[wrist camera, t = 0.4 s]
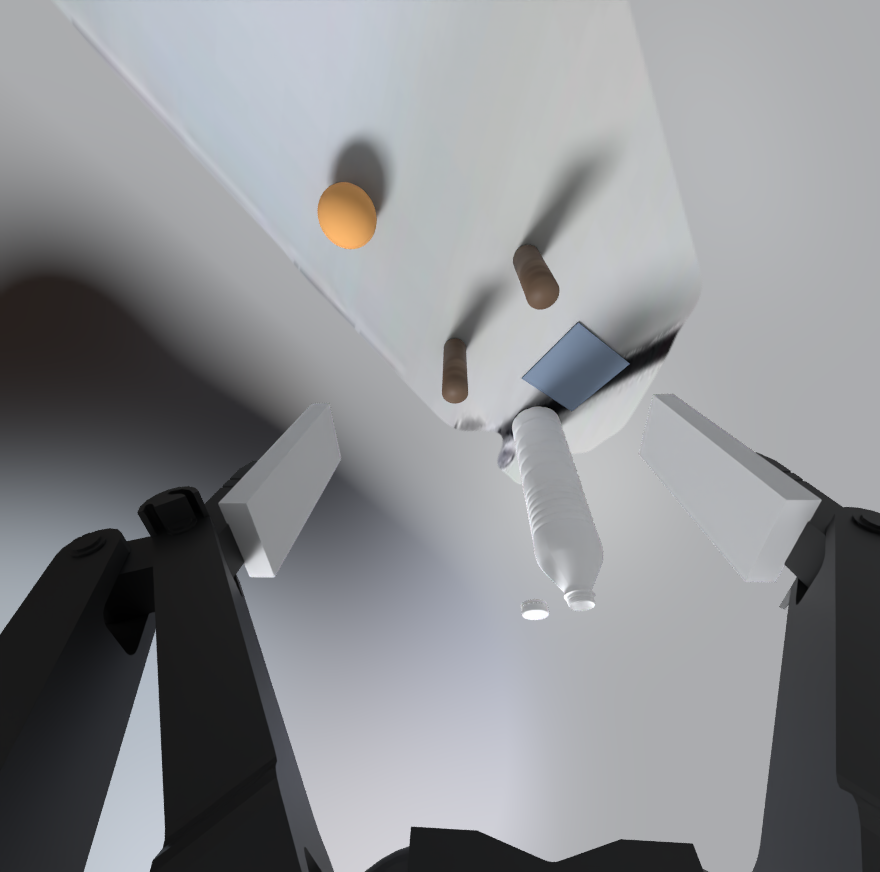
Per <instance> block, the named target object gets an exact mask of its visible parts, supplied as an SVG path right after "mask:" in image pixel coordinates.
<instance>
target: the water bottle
mask: <svg viewBox="0 0 880 872" xmlns="http://www.w3.org/2000/svg"><path fill="white" fill-rule="evenodd" d="M512 431H513V436H514V440H515V447H516V451H517V458H518V463H519V469H520V472H521V480H522V484H523V492H524V496H525V500H526V506H527V512H528V517H529V523H530V528H531V532H532V538H533V545H534V552H535V557H536V560H537V563H538V565H539V566H540V568H541V569H542V570H543V572H544V573H545V574H546V575H547V576H548V577H549V578H550V579H551V580H552V581H553V582H554V583H555V584H556V585H557V586H558V587H559V588H560V589H561V590H562V591H563V592H564V593H565V595H564V599H565V600H566V601H567V603H568V606H569V608H570V609H572V610H575V611H585V610H589V609H591V608H593V607H594V606H595V601H594V597H595V593H594V592H593V591H592V588H593V586H594V583H595V581H596V578H597V576H598V573H599V570H600V568H601V565H602V562H603V548H602V544H601V541H600V538H599V536H598V533H597V531H596V528H595V524H594V522H593V519H592V516H591V512H590V510H589V507H588V504H587V501H586V498H585V495H584V492H583V489H582V485H581V482H580V479H579V476H578V474H577V470H576V467H575V464H574V462H573V459H572V455H571V453H570V450H569V446H568V443H567V441H566V438H565V434H564V432H563V429H562V425H561V422H560V419H559V417H558V415H557V414H556V413H555V412H554V411H553V410H552V409H550V408H547V407H541V406H537V407H531V408H529V409H525V410H523V411H522V412H520V413H519V414H518V415H517V417H516V418H515V419H514V421H513V424H512ZM533 602H536V603H533ZM537 602H539V603H537ZM527 603H530V604H527ZM542 603H544V604H542ZM525 604H526V605H525ZM523 605H524V606H523ZM521 610H522V616H523V617H524V618H526V619H529V620H540V619H544V618H546V617H548V615H549V611H548V605H547V602H545V601H543V600H538V599H533V600H528V601H525V602H523V603H522V604H521Z"/></svg>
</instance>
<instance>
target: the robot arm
mask: <svg viewBox="0 0 880 872" xmlns="http://www.w3.org/2000/svg"><path fill="white" fill-rule="evenodd" d="M639 455H640V457H641V458H642V459H643V460H644V461H645V462H646V464H647V465H648V466H649V467H650V469H651V470H652V471H653V472H654V473H655V475H656V476H657V477H658V478H659V479H660V480H661V482H662V483H663V484H664V485H665V487H666V488H667V489H668V490H669V491H670V493H671V494H672V495H673V496H674V497H675V499H676V500H677V501H678V502H679V503H680V504H681V506H682V507H683V508H684V509H685V510H686V512H687V513H688V514H689V515H690V516H691V518H692V519H693V520H694V521H695V522H696V524H697V525H698V526H699V527H700V528H701V530H702V531H703V532H704V533H705V534H706V536H707V537H708V538H709V539H710V540H711V541H712V543H713V544H714V545H715V546H716V548H717V549H718V550H719V551H720V552H721V553H722V555H723V556H724V557H725V558H726V559H727V561H728V562H729V563H730V564H731V565H732V567H733V568H734V569H735V570H736V571H737V572H738V574H739V575H740V576H741V577H742V579H743V580H744V581H745V582H776V580H777V579H778V577H779V575H780V573H781V572H782V570H783V568H784V566H785V565H786V566H787V567H788V568H789V569H790V570H791V571H792V572H793V573H794V574H795V575H796V576H797V578H796V580H795V581H794V583H793V585H792V586H791V588H790V590H789V591H788V593H787V595H786V596H785V598H784V600H783V601H782V603H781V605H780V606H779V607H780V608H783V609H785V608H786V607H787V606H788V605H789V607H788V615H787V624H786V632H785V641H784V650H783V658H782V666H781V675H780V683H779V691H778V701H777V708H776V717H775V725H774V735H773V743H772V750H771V759H770V768H769V776H768V784H767V793H766V801H765V809H764V818H763V827H762V835H761V843H760V849H759V854H758V858H757V861H756V864H755V867H754V869H753V871H752V872H880V513H878V512H875V511H871V510H866V509H862V508H854V507H844V508H843V507H842V506H840V505H839V504H838V503H836V502H835V501H833V500H832V499H830V498H829V497H827V496H826V495H825V494H823V493H822V492H820V491H819V490H817V489H816V488H814V487H813V486H812V485H810V484H809V483H807V482H805V481H802V480H803V479H801V478H800V477H799V476H797V475H796V474H794V473H791V472H790V470H788V469H787V468H786V467H784V466H783V465H781V464H780V463H778V462H777V461H775V460H773V459H771V458H768V457H766V456H763V455H762V454H759V453H757V452H754V451H753V450H751V449H750V448H748V447H747V446H745V445H744V444H743V443H741V442H740V441H739V440H737V439H736V438H734V437H733V436H732V435H730V434H728V433H727V432H726V431H724V430H723V429H722V428H720V427H719V426H717V425H716V424H715V423H713V422H712V421H710V420H709V419H708V418H706V417H705V416H703V415H702V414H701V413H699V412H698V411H696V410H695V409H694V408H692V407H691V406H689V405H688V404H687V403H685V402H684V401H682V400H681V399H679V398H678V397H677V396H675V395H674V394H656V395H655V394H654V395H653V397H652V401H651V405H650V409H649V413H648V418H647V422H646V426H645V430H644V434H643V438H642V442H641V446H640V450H639ZM340 460H341V455H340V450H339V445H338V441H337V436H336V431H335V427H334V421H333V417H332V412H331V407H330V403H317V404H316V403H313V404H311V405H310V406H309V407H308V408H307V410H306V411H305V412H304V413H303V414H302V415H301V416H300V417H299V418H298V419H297V420H296V421H295V422H294V423H293V424H292V425H291V427H289V429H288V430H287V431H286V432H285V433H284V434H283V435H282V436H281V437H280V438H279V439H278V440H277V441H276V442H275V443H274V445H273V446H272V447H271V448H270V449H269V450H268V451H267V452H266V453H265V454H264V455H263V456H262V457H261V458H260V459H259V460H258V461H252V462H250V463H249V464H247V465H245V466H244V467H242V468H240V469H239V470H238V471H237V472H236V473H235V474H234V475H233V476H232V477H231V478H230V480H228V481H227V482H226V483H225V484H224V485H223V488H220V489H219V490H218V491H217V492H216V493H215V494H214V495H213V496H212V497H211V498H210V499H209V500H208V501H207V502H206V503H205V504H204V502H203V500H202V498H201V496H200V493H199V491H198V490H197V489H196V488H194V487H189V486H188V487H177V488H173V489H170V490H166V491H164V492H162V493H159V494H157V495H155V496H153V497H152V498H150V499H148V500H147V501H146V502H145V503H144V504H142V505H141V506H140V508H139V510H138V515H139V517H140V518H141V520H142V522H143V523H144V525H145V527H146V529H147V531H148V532H149V534H150V537H145V538H140V539H136V540H131V541H126V540H125V538H124V536H123V535H122V533H121V532H120V531H119V530H118V529H111V528H109V529H104V530H98V531H95V532H92V533H88V534H85V535H83V536H82V537H78V538H77V539H75V540H73V541H72V542H71V543H70V544H68V545H67V546H65V547H64V548H62V549H61V550H60V552H59V553H58V554H57V555H56V556H55V557H54V559H53V560H52V561H51V563H50V564H49V566H48V567H47V569H46V570H45V571H44V573H43V574H42V576H41V577H40V578H39V580H38V581H37V583H36V584H35V586H34V587H33V588H32V590H31V591H30V593H29V594H28V596H27V597H26V598H25V600H24V601H23V603H22V604H21V606H20V607H19V608H18V610H17V611H16V613H15V614H14V615H13V617H12V618H11V620H10V621H9V623H8V624H7V625H6V627H5V628H4V630H3V631H2V633H1V634H0V872H84V869H85V865H86V862H87V859H88V855H89V852H90V849H91V845H92V842H93V838H94V835H95V831H96V828H97V825H98V822H99V818H100V815H101V811H102V808H103V805H104V801H105V798H106V795H107V791H108V787H109V784H110V781H111V778H112V774H113V771H114V767H115V764H116V761H117V757H118V754H119V751H120V747H121V744H122V741H123V737H124V734H125V731H126V727H127V724H128V720H129V717H130V714H131V710H132V707H133V704H134V700H135V697H136V693H137V690H138V686H139V683H140V680H141V677H142V673H143V670H144V667H145V663H146V659H147V656H148V653H149V650H150V646H151V643H152V640H153V636H154V633H155V629H156V641H157V663H158V685H159V705H160V727H161V750H162V771H163V793H164V815H165V841H164V845H163V849H162V850H161V851H160V853H159V854H158V855H157V856H156V857H155V859H154V860H153V861H152V865H151V869H150V872H334V871H333V868H332V865H331V862H330V860H329V857H328V854H327V851H326V849H325V846H324V844H323V842H322V839H321V836H320V834H319V831H318V828H317V825H316V822H315V820H314V817H313V813H312V810H311V807H310V804H309V801H308V797H307V794H306V791H305V788H304V785H303V781H302V778H301V775H300V772H299V769H298V766H297V763H296V760H295V756H294V753H293V750H292V746H291V743H290V741H289V737H288V734H287V731H286V728H285V724H284V721H283V718H282V715H281V712H280V708H279V705H278V702H277V699H276V696H275V692H274V689H273V686H272V683H271V680H270V677H269V673H268V670H267V667H266V664H265V661H264V658H263V654H262V651H261V648H260V645H259V642H258V639H257V635H256V632H255V629H254V626H253V623H252V620H251V617H250V613H249V610H248V607H247V604H246V600H245V597H244V594H243V591H242V588H241V585H240V582H239V580H238V577H237V575H236V573H237V572H238V570H239V569H240V567H241V566H242V565H243V563H244V565H245V567H246V569H247V572H248V574H249V576H250V577H275V576H276V574H277V572H278V570H279V569H280V567H281V565H282V563H283V562H284V560H285V558H286V556H287V555H288V552H289V551H290V549H291V547H292V546H293V544H294V542H295V540H296V539H297V537H298V535H299V533H300V531H301V529H302V528H303V526H304V524H305V522H306V521H307V519H308V517H309V515H310V514H311V512H312V510H313V508H314V506H315V505H316V503H317V501H318V499H319V498H320V496H321V494H322V492H323V490H324V489H325V487H326V485H327V483H328V482H329V480H330V478H331V476H332V474H333V473H334V471H335V469H336V467H337V466H338V464H339V462H340ZM365 872H708V871H706V870H704V869H702V866H701V864H700V861H699V859H698V856H697V853H696V851H695V848H694V846H693V844H690V843H673V842H656V841H639V840H623V839H621V840H618V841H615V842H612V843H609V844H606V845H604V846H601V847H598V848H595V849H592V850H590V851H587V852H584V853H581V854H578V855H576V856H573V857H570V858H567V859H564V860H561V861H558V862H548V861H545V860H543V859H540V858H538V857H535V856H534V855H531V854H529V853H527V852H525V851H522V850H520V849H518V848H515V847H513V846H511V845H508V844H506V843H504V842H502V841H500V840H497V839H495V838H493V837H490V836H488V835H486V834H484V833H481V832H479V831H474V830H456V829H440V828H423V827H411V835H410V846H409V847H406V848H403V849H400V850H398V851H395V852H394V853H392V854H390V855H388V856H386V857H384V858H383V859H381V860H380V861H378V862H377V863H376V864H374V865H373V866H372V867H370V868H369V869H368V870H366V871H365Z"/></svg>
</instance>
